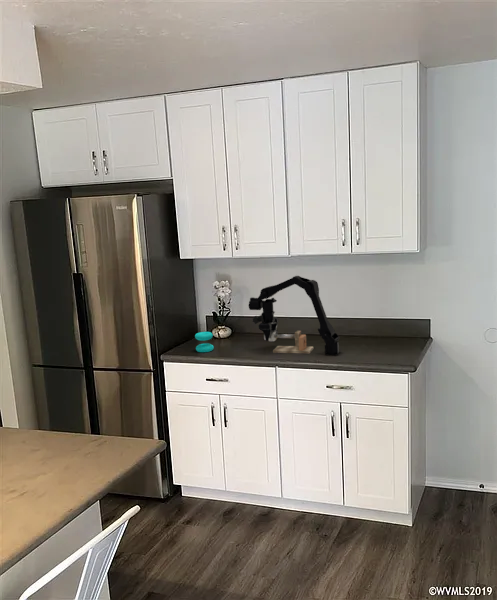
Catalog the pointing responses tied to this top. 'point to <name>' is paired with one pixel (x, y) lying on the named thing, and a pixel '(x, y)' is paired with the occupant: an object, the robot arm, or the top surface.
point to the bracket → (293, 347)
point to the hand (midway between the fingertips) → (269, 338)
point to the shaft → (279, 336)
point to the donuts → (202, 337)
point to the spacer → (302, 342)
